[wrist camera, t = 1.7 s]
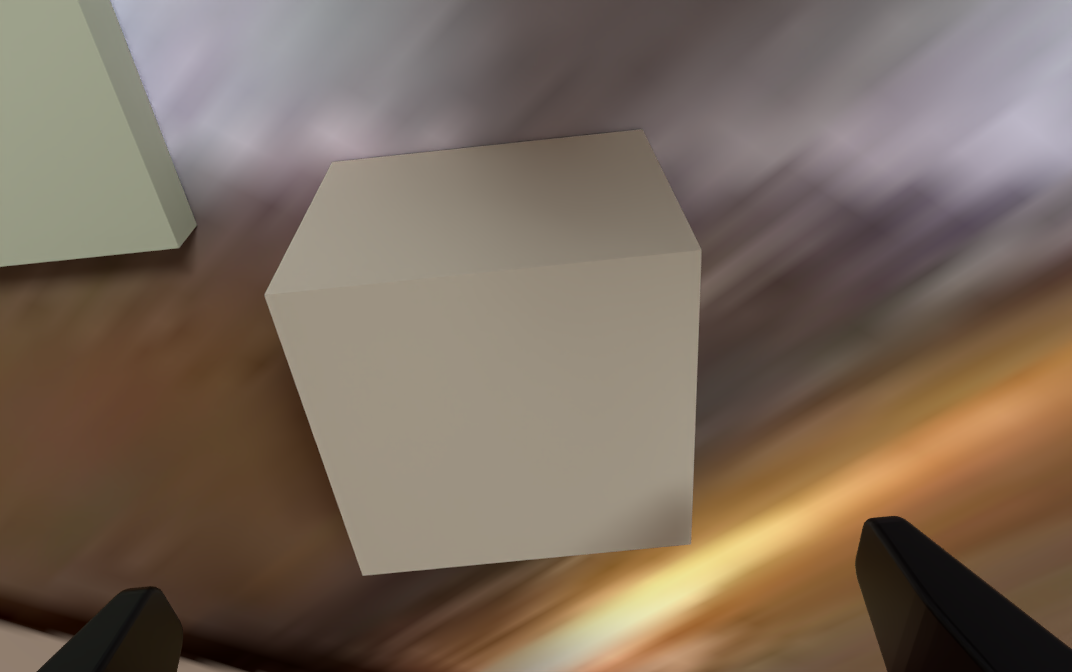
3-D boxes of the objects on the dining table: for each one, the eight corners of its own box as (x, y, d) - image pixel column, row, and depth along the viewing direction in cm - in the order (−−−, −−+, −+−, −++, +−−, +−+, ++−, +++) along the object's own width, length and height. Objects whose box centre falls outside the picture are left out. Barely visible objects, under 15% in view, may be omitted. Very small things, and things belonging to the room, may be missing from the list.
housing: (641, 129, 14) (701, 249, 10) (645, 376, 18) (690, 544, 13) (331, 161, 14) (264, 295, 10) (394, 402, 18) (362, 576, 13)
